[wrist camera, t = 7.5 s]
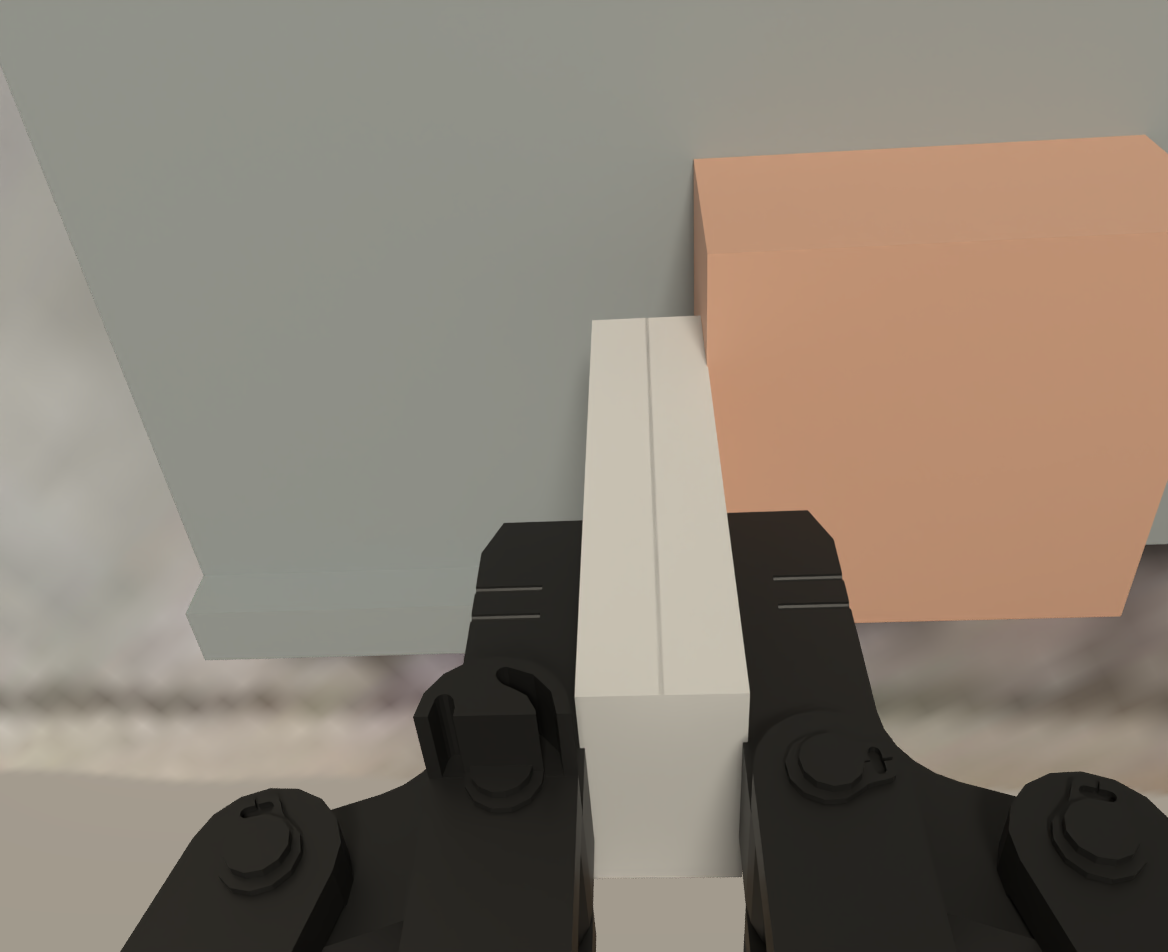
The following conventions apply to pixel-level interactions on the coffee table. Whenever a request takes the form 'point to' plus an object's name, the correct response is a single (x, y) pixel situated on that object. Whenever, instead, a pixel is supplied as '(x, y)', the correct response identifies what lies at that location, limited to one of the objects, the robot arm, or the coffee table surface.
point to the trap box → (459, 240)
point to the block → (946, 364)
